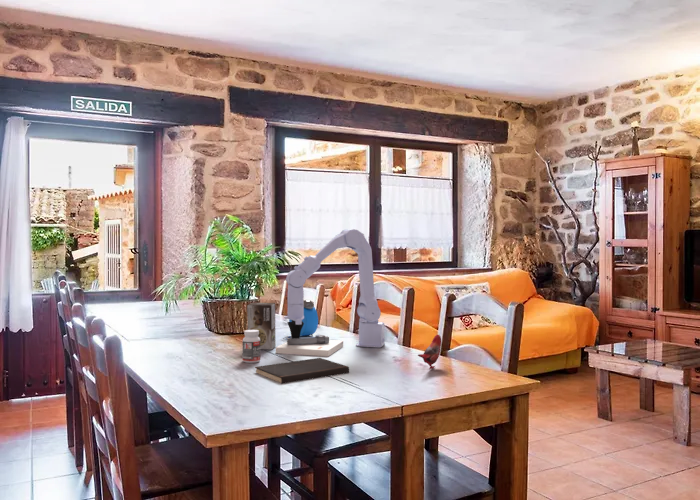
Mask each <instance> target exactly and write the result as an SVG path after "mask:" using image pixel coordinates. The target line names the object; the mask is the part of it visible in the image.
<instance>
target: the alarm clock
mask: <svg viewBox="0 0 700 500" xmlns="http://www.w3.org/2000/svg"><path fill="white" fill-rule="evenodd" d="M302 321H303V323H304V325H303V327H302V329H301V332H300V337H309V336H310V337H314V334H315V333H316V332H317V329H318V325H319V315H318V311H317V309H316V307H315V305H314V302H313V301H311V300H310V299H305V300H304V319H303V320H302ZM288 322H292V320H290V319H288Z"/></svg>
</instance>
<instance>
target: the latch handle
mask: <svg viewBox="0 0 700 500" xmlns="http://www.w3.org/2000/svg"><path fill="white" fill-rule="evenodd" d="M329 340H330V336H328V335H327V336H326V335H323V334H318V335H315V336H313V337H312V336H300V337H299V338H292V337H286V342H287V344H288V345H290V344H313V343H318V344H322V343H329Z"/></svg>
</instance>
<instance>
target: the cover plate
mask: <svg viewBox="0 0 700 500" xmlns="http://www.w3.org/2000/svg"><path fill="white" fill-rule="evenodd" d="M343 347H344V340H334V339H333V340H332V339H329V343H322V344H318V343H313V344H290V345H288V344H287V341H286V342H284V343H282V344H280V345H278V346H276V347H275V354H281V355H300V356H316V357H317V356H318V357H330V356H331V355H333V354H334V353H335V352H337V351H338V350H340V349H341V348H343Z"/></svg>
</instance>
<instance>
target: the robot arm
mask: <svg viewBox="0 0 700 500" xmlns="http://www.w3.org/2000/svg"><path fill="white" fill-rule="evenodd" d="M343 248H348V249H350V250H352V251H354V252H355V253H356V254H357V256H358V257H357V259H358V274H359V275H358V276H359V277H358V278H359V292H360V294H359V295H360V297H359V300H358V307H357V309H356V313H357V315H358V317H359V320H358V343H356V344H355V347H365V348H382V347H383V346H384V345H385V344H386V343H385V338H386V337H385V333H386V332H385V331H386V330H385V323H384V321H382V322H380V321H379V319H380V318H381V315H382V314H381V313H382V312H381V309H380V307H379V303H378V300H377V298H376V296H375V286H374V285H375V284H374V281H375V280H374V265H373V252H372V251H373V250H372V246H371V245H370V243H369V242H368V240H367V239H366V237H365V234H364V233H362V231H359V230H358V229H354V228H353V229H343V230H342V231H341V232H340V233H338V234H337V235H335V236H334V237H333V238H331V240H330V241H328V242H327V243H326V244H325V245H324V246H323V247H322V248H321V249H320V250H319V251H318V252H317V253H316V254H315V255H309V256H305V257H304V258H303V261H302V262H301V263H299V264H298V266H297V265H295V266H294V267H293V270H290V271H289V272H288V273H287V275H286V278H285V281H286V283H287V315H284V316H283V317H284V320H285V319H286V320H287V319H288V320H289V319H290V320H292V322H289V321H288V322H286V323H287V325H288V327H289V328H288V329H289V331H290V338H299V337H301V336H300V332H301V329H302V327H303V325H304V323H303V321H302V320H303V319H304V301H305V300H304V299H305V298H304V295H305V294H304V285H305V283H306V280H307V279H309V278H310V277H311V276H313V275H314V273H316V272H317V271H318V270H319V269H320V268H321V264H322V262H324V261H325V260H326V259H327V258H328V257H329V256H331V255H332V254H333V253H334V252H335V251H337V249H343Z"/></svg>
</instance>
